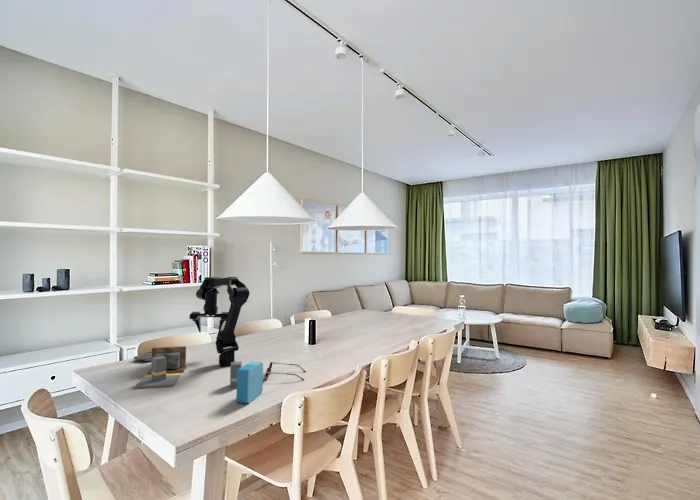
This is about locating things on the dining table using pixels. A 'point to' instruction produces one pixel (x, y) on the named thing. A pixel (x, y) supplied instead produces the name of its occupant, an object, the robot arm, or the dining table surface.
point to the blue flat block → (249, 382)
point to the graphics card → (144, 357)
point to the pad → (149, 383)
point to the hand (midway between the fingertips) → (209, 332)
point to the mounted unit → (171, 358)
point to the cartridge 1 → (158, 368)
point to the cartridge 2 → (234, 373)
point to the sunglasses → (280, 373)
